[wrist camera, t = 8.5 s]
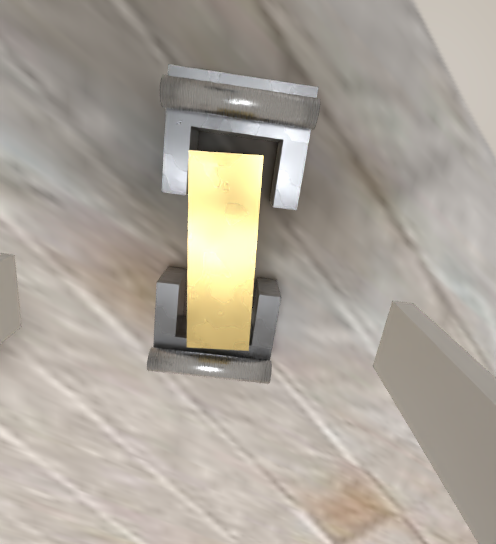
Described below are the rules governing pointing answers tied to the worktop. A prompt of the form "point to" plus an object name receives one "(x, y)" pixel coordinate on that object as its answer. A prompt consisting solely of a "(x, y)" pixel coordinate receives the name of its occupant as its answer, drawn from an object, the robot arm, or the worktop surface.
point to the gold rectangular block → (221, 247)
